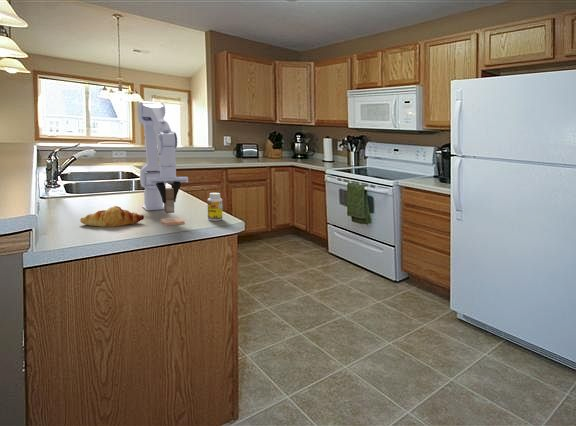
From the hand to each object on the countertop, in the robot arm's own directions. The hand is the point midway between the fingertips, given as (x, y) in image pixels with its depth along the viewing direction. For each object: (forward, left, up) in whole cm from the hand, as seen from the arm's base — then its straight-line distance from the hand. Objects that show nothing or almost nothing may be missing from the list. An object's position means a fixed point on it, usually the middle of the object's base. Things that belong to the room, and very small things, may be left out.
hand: (169, 202), depth 153 cm
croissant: (-3, -20, -7) cm, 21 cm away
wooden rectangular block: (0, 0, -4) cm, 4 cm away
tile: (0, 0, -7) cm, 7 cm away
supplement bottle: (+5, +16, -7) cm, 18 cm away
